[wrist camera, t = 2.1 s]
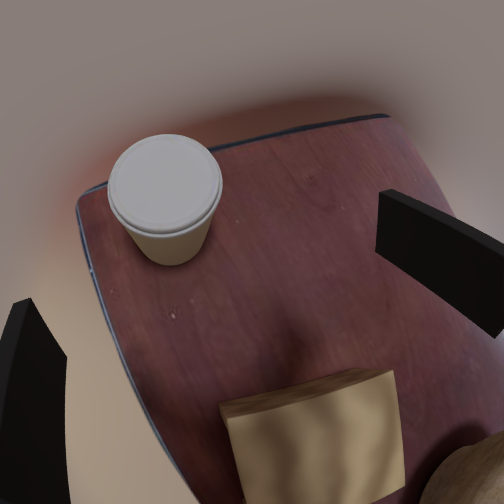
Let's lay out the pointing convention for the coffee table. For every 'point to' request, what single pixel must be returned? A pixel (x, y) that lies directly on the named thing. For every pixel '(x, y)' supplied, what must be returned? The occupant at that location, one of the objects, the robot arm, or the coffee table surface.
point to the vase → (469, 475)
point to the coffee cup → (166, 196)
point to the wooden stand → (319, 440)
